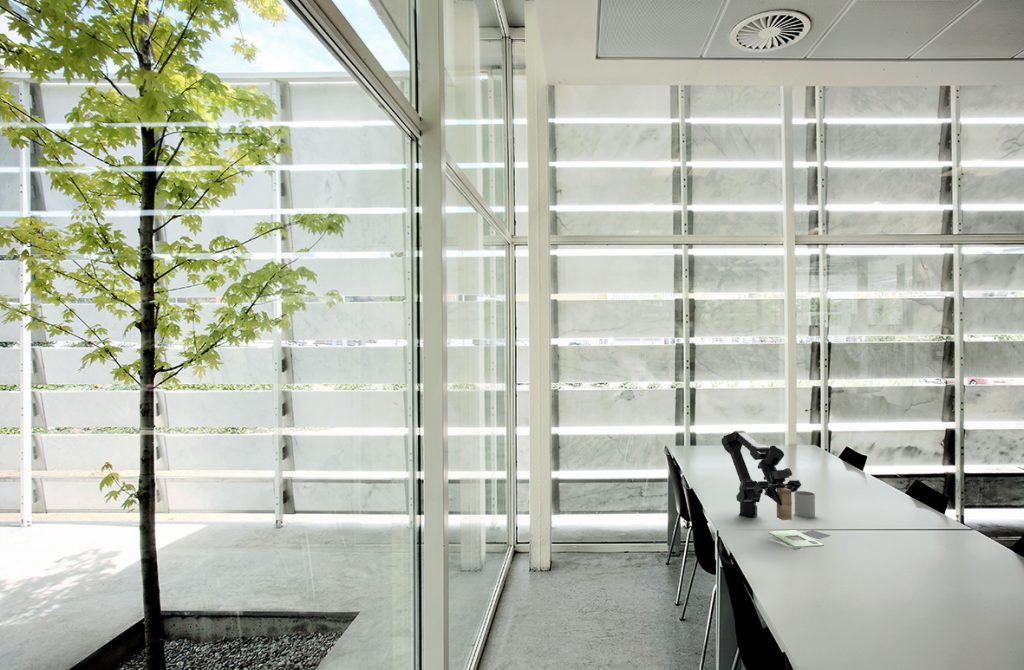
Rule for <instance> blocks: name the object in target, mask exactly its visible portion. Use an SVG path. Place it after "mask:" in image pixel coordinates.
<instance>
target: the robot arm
mask: <svg viewBox="0 0 1024 670" xmlns="http://www.w3.org/2000/svg"><path fill="white" fill-rule="evenodd" d="M721 445H722V446H723V448H724V450H725V451H726V452H727V453H728V454H729V455H730V457H731V460H732V462H733V465H734V468H735V470H736V474H737V476H738V479H739V482H740V483H739V488H738V490H739V491H738V492H737V495H735V497H736V501H737V502H738V503H739V513H738V516H739V517H747V518H752V519H754V518H755V517H756V516H758V505H757V503H760V501H761V497H762V494H763V495H764V496H767V497H769V498H770V499H771V500H773V502H775V503H776V505H777V504H779V505H780V506H781V505H782V503H781V500H780V498H779V496H778V494H777V488H787V489H789V490H791V493H795V492H796V491H799V489H800V488H801V486H802V483H801V481H800V479H790V477H792V476H793V472H792V469H790V468H788V467H787V468H784V469H777V466H778V465H779V464H780V462H781V461H782V460H783V458H784V457H785V453H784V451H783V450H782V449H780V448H779V447H777V446H776V445H775V444H773V445H770V447H769V446H768V445H765V444H762V443H759V442H757V441H756V440H755V439H753V438H752V437H751V436H749V435H748V433H746V431H745V430H734V431H732V433H728V434H726V435H723V437H722V438H721ZM743 446H744V448H746V449H747V450H748V451H749V455H750V456H751V457H752V458H753V460H755V461H759V460H760V461H759V462H758V465H757V469H758V470H761V471H762V474H763V480H764V481H763V480H760V481H757V480H753V479H752V478H751V475H750V473H749V469H748V467H747V465H746V462H745V459H744V456H743V454H742V447H743ZM786 479H790V480H788V481H787V483H785V482H786ZM763 492H764V493H763ZM791 504H793V502H792V499H791Z"/></svg>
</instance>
